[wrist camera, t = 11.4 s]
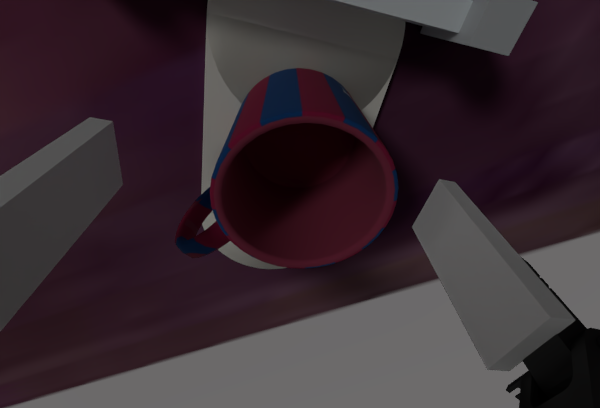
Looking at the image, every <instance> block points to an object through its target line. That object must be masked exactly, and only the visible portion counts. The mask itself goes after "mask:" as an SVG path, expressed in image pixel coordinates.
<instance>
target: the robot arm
mask: <svg viewBox="0 0 600 408" xmlns="http://www.w3.org/2000/svg"><path fill="white" fill-rule="evenodd" d="M122 185H123V182H122V176H121V170H120V163H119V157H118V151H117V145H116V138H115V132H114V126H113V121H108V120H102V119H96V118H91V117H90V118H88V119H87V120H85V121H84V122H82V123H80V124H79V125H77V126H76V127H74V128H73V129H71V130H70V131H68V132H67V133H65V134H64V135H62V136H61V137H59V138H58V139H56V140H55V141H53V142H51V143H50V144H48V145H47V146H45V147H44V148H42V149H41V150H39V151H38V152H36V153H35V154H33V155H32V156H30V157H29V158H27V159H26V160H24V161H23V162H21V163H19V164H18V165H16V166H15V167H13V168H12V169H10V170H9V171H7V172H6V173H4V174H3V175H1V176H0V331H1V330H2V329H3V328H4V327H5V325H6V324H7V323H8V322H9V321H10V319H11V318H12V317H13V316H14V315H15V313H16V312H17V311H18V310H19V309H20V307H21V306H22V305H23V304H24V303H25V301H26V300H27V299H28V298H29V297H30V295H31V294H32V293H33V292H34V291H35V289H36V288H37V287H38V286H39V285H40V283H41V282H42V281H43V280H44V279H45V277H46V276H47V275H48V274H49V273H50V271H51V270H52V269H53V268H54V267H55V265H56V264H57V263H58V262H59V261H60V259H61V258H62V257H63V256H64V255H65V253H66V252H67V251H68V250H69V249H70V247H71V246H72V245H73V244H74V243H75V241H76V240H77V239H78V238H79V237H80V235H81V234H82V233H83V232H84V231H85V229H86V228H87V227H88V226H89V225H90V223H91V222H92V221H93V220H94V219H95V217H96V216H97V215H98V214H99V213H100V211H101V210H102V209H103V208H104V207H105V205H106V204H107V203H108V202H109V201H110V199H111V198H112V197H113V196H114V195H115V193H116V192H117V191H118V190H119V189H120V187H121V186H122ZM412 228H413V230H414V232H415V234H416V236H417V238H418V239H419V241H420V243H421V245H422V247H423V249H424V251H425V253H426V255H427V256H428V258H429V260H430V262H431V264H432V266H433V268H434V270H435V272H436V273H437V275H438V277H439V279H440V281H441V283H442V285H443V287H444V289H445V290H446V292H447V294H448V296H449V298H450V300H451V302H452V304H453V305H454V307H455V309H456V311H457V313H458V315H459V317H460V319H461V320H462V322H463V324H464V326H465V328H466V330H467V332H468V334H469V336H470V337H471V340H472V341H473V343H474V345H475V347H476V349H477V351H478V353H479V355H480V357H481V358H482V360H483V362H484V364H485V366H486V368H487V370H501V371H510V370H511V369H513V368H514V367H515V366H517V365H518V364H519V363H521V362H522V361H523V362H524V364H525V365H526V367H527V368H528V370H529V371H527V372H526V373H525V374H524V375H522V376H521V377H519V378H518V379H516V380H515V381H514V382H512V383H511V384H509V385H508V387H507V389H506V391H508V392H509V393H510V392H512V391H513V390H515V389H516V388H520V389H521V391H520V393H519V394H518V395H516V396H515V397H516V398H517V399H519V400H520V404H519V408H600V330H598V329H594V328H589V329H587V328H586V327H585V326H584V325H583V324H582V323H581V322H580V321H579V319H578V318H577V317H576V316H575V315H574V314H573V313H572V312H571V310H570V309H569V308H568V307H567V306H566V305H565V304H564V302H563V301H562V300H561V299H560V298H559V297H558V296H557V295H556V293H555V292H554V291H553V290H552V289H551V288H549V286H548V284H547V283H546V282H545V281H544V280H543V279H542V278H540V275H539V274H538V273H537V272H536V271H535V270H534V269H533V267H532V266H531V265H530V264H529V263H528V262H527V261H525V260H524V259H523V258H521V257H520V256H519V255H518V253H517V252H516V251H515V250H514V249H513V248H512V247H511V245H510V244H509V243H508V242H507V241H506V240H505V239H504V237H503V236H502V235H501V234H500V233H499V232H498V231H497V229H496V228H495V227H494V226H493V225H492V224H491V223H490V221H489V220H488V219H487V218H486V217H485V216H484V215H483V213H482V212H481V211H480V210H479V209H478V208H477V207H476V205H475V204H474V203H473V202H472V201H471V200H470V199H469V197H468V196H467V195H466V194H465V193H464V192H463V191H462V189H461V188H460V187H459V186H458V185H457V184H456V183H455V182H452V181H446V180H441V179H439V180H438V182H437V184H436V186H435V187H434V189H433V191H432V193H431V194H430V196H429V198H428V200H427V201H426V203H425V205H424V207H423V208H422V210H421V212H420V214H419V216H418V217H417V219H416V221H415V223H414V224H413V226H412Z"/></svg>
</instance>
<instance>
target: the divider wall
mask: <svg viewBox="0 0 600 408" xmlns="http://www.w3.org/2000/svg"><path fill="white" fill-rule="evenodd" d="M326 1H330V2H334V3H338V4H341V5H345V6H349V7H353V8H356V9H360V10H364V11H368V12H372V13H375V14H379V15H383V16H387V17H391V18H394V19H398V20H402V21H406V22H409V23H413V24H417V25H420V26H422V29H421V32H420V34H424V35H428V36H432V37H436V38H440V39H444V40H447V41H451V42H455V43H459V44H463V45H467V46H471V47H475V48H479V49H483V50H487V51H491V52H495V53H499V54H503V55H507V56H509V54H510V52H511V50H512V49H513V47H514V45H515V43H516V41H517V40H518V38H519V36H520V34H521V32H522V30H523V29H524V27H525V25H526V23H527V21H528V20H529V18H530V16H531V14H532V12H533V11H534V9H535V7H536V5H537V3H538V2H535V1H531V0H326Z"/></svg>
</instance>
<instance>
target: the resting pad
mask: <svg viewBox="0 0 600 408" xmlns="http://www.w3.org/2000/svg"><path fill="white" fill-rule="evenodd" d="M405 22H406V21H402V20H398V19H394V18H391V17H387V16H383V15H379V14H375V13H372V12H368V11H364V10H360V9H356V8H353V7H349V6H345V5H341V4H338V3H334V2H330V1H326V0H208V4H207V22H206V56H205V90H204V123H203V157H202V191H201V194H203V193H204V192H205V191H206V190H207V189H208V188H209V187H210V185H211V177H212V174H213V171H214V168H215V165H216V162H217V160H218V158H219V156H220V153H221V151H222V149H223V146H224V144H225V142H226V139H227V137H228V135H229V132H230V130H231V128H232V125H233V123H234V121H235V118H236V116H237V114H238V111H239V109H240V107H241V104H242V103H243V101H244V99H245V97H246V96H247V94H248V93H249V92H250V91H251V89H252V88H253V87H254V86H255V85H256V84H257V83H259V82H260V81H261V80H262V79H264V78H266V77H267V76H269V75H271V74H273V73H275V72H279V71H282V70H285V69H294V68H304V69H312V70H316V71H319V72H322V73H324V74H326V75H328V76H330V77H332V78H334V79H335V80H336V81H338V82H339V83H340V84H341V85H342V86H343V87H344V88H345V89H346V90H347V91H348V92H349V94H350V95H351V97H352V98H353V100H354V101H355V103H356V104H357V106H358V107H359V109H360V110H361V112H362V113H363V114H364V116H365V117H366V119H367V120H368V122H369V123H370V125H371V126H372V128H373V126H374V123H375V121H376V118H377V115H378V112H379V110H380V107H381V104H382V101H383V99H384V96H385V93H386V90H387V88H388V85H389V82H390V79H391V77H392V74H393V71H394V68H395V66H396V63H397V60H398V57H399V54H400V50H401V47H402V43H403V38H404V32H405ZM214 222H216V219H215V216H214V213H213V210H212V212H211V213H210V214H209V215H208V216H207V217H206V219H205V220H204V222H203V223H202V225H203V228H204V230H206V229H207V228H209V227H210V226H211V225H212V224H213V223H214ZM218 250H219V251H220V252H222V253H223V254H224V255H226V256H227V257H229V258H230V259H232V260H234V261H236V262H238V263H241V264H244V265H247V266H251V267H255V268H261V269H281V268H287V267H280V266H275V265H272V264H269V263H265V262H262V261H260V260H258V259H256V258H253V257H251V256H250V255H248V254H247V253H245V252H243V251H242V250H240V249H239V248H238V247H237V246H236V245H234V244H233V243H232V242H231V241H229V242H228V243H227V244H225V245H224V246H222V247H221V248H219V249H218Z"/></svg>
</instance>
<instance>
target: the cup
mask: <svg viewBox="0 0 600 408" xmlns="http://www.w3.org/2000/svg"><path fill="white" fill-rule="evenodd" d="M397 197H398V176H397V171H396V168H395V165H394V162H393V159H392V158H391V156H390V154H389V152H388V151H387V149H386V147H385V146H384V144H383V143H382V141H381V140H380V138H379V137H378V135H377V134H376V132H375V131H374V129H373V128H372V126H371V125H370V123H369V122H368V120H367V119H366V117H365V116H364V114H363V113H362V112H361V110H360V109H359V107H358V106H357V104H356V103H355V101H354V100H353V98H352V97H351V95H350V94H349V92H348V91H347V90H346V89H345V88H344V87H343V86H342V85H341V84H340V83H339V82H338V81H336V80H335V79H334V78H332V77H330V76H328V75H326V74H324V73H322V72H319V71H316V70H312V69H304V68H294V69H285V70H282V71H279V72H275V73H273V74H271V75H269V76H267V77H266V78H264V79H262V80H261V81H260V82H259V83H257V84H256V85H255V86H254V87H253V88H252V89H251V91H250V92H249V93H248V94H247V96H246V97H245V99H244V101H243V103H242V104H241V107H240V109H239V111H238V114H237V116H236V118H235V121H234V123H233V125H232V128H231V130H230V132H229V135H228V137H227V139H226V142H225V144H224V146H223V149H222V151H221V153H220V156H219V158H218V160H217V162H216V165H215V168H214V171H213V174H212V177H211V185H210V187H209V188H208V189H207V190H206V191H205V192H204V193H203V194H201V195H200V196H199V197H198V199H197V200H196V201H195V202H194V203H193V204H192V205H191V207H190V208H189V209H188V211H187V212H186V214H185V215H184V217H183V218H182V220H181V222H180V224H179V226H178V229H177V232H176V236H175V243H176V245H177V246H178V248H179V249H180V250H181V252H183V253H185V254H186V255H188V256H190V257H191V258H199V257H202V256H205V255H208V254H210V253H212V252H214V251H216V250H218V249H219V248H221V247H222V246H224V245H225V244H227V243H228V242H229V241H231V242H232V243H233V244H234V245H236V246H237V247H238V248H239V249H240V250H242V251H243V252H245V253H247V254H248V255H250V256H251V257H253V258H256V259H258V260H260V261H262V262H265V263H269V264H272V265H275V266H280V267H287V268H303V269H305V268H316V267H322V266H326V265H331V264H334V263H337V262H340V261H343V260H345V259H347V258H349V257H351V256H353V255H355V254H357V253H358V252H360V251H361V250H363V249H364V248H366V247H367V246H368V245H369V244H371V243H372V242H373V241H374V240H375V239H376V238H377V237H378V236H379V235H380V233H381V232H382V231H383V230H384V228H385V227H386V226H387V224H388V222H389V220H390V218H391V217H392V215H393V212H394V209H395V206H396V203H397ZM212 210H213V213H214V216H215V219H216V222H214V223H213V224H212V225H211V226H210V227H209V228H207V229H206V230H205V231H203V232H202V233H200V234H199V235H197V236H196V234H197V232H198V230H199V228H200V226H201V225H202V223H203V222H204V220H205V219H206V217H207V216H208V215H209V214H210V213H211V212H212Z"/></svg>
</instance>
